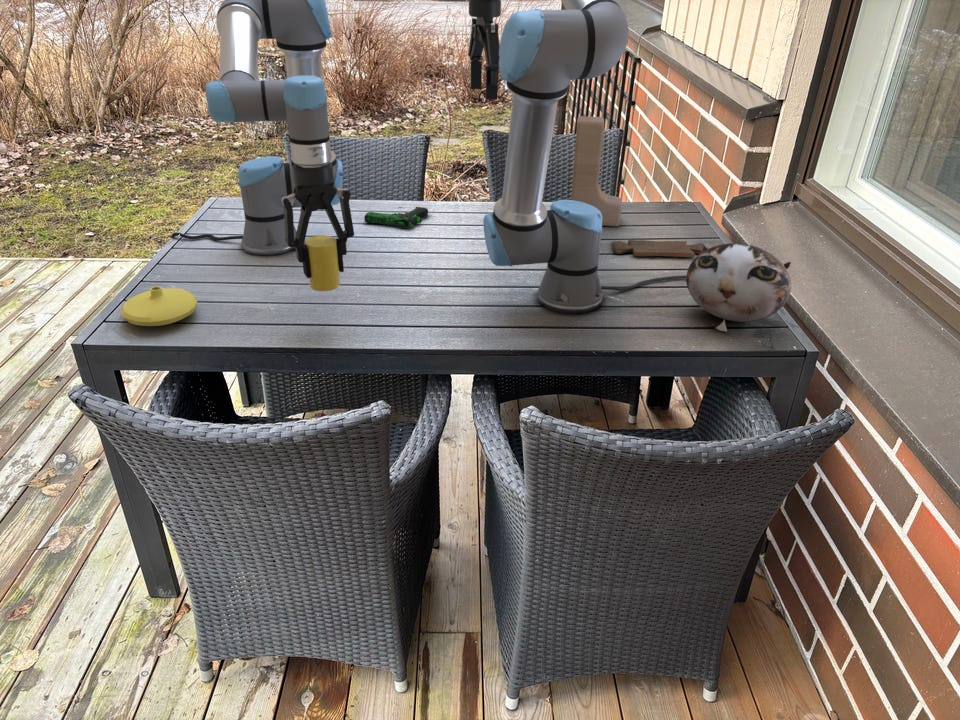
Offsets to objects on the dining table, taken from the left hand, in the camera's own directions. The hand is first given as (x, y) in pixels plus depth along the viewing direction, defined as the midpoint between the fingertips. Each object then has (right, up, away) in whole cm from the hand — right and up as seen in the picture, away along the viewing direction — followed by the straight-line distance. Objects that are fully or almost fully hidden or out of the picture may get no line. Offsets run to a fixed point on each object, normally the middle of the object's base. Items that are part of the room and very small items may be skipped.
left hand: (323, 272), depth 150 cm
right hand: (+34, +47, +26) cm, 64 cm away
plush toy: (+90, -9, +13) cm, 91 cm away
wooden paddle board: (+82, +12, +47) cm, 96 cm away
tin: (0, -2, +1) cm, 3 cm away
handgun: (+8, +24, +66) cm, 71 cm away
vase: (-38, -9, +9) cm, 40 cm away
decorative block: (+67, +23, +67) cm, 98 cm away
